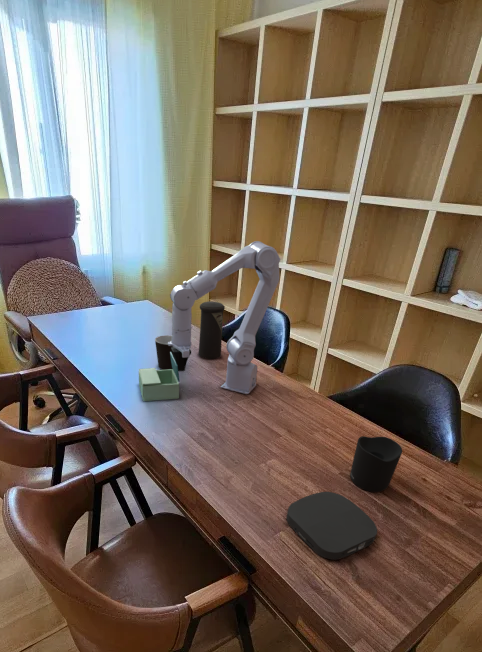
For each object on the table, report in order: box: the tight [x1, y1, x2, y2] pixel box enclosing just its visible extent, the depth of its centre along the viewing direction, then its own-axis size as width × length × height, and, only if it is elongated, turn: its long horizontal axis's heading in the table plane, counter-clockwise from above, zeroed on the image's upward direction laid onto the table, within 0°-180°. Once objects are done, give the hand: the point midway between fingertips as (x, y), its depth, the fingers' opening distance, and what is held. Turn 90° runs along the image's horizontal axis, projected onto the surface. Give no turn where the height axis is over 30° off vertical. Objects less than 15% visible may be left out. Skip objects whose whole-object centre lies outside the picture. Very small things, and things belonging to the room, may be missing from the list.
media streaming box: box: [286, 491, 378, 561], centre depth 85 cm, size 15×15×3 cm
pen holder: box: [349, 435, 403, 493], centre depth 97 cm, size 9×9×10 cm
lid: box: [170, 352, 180, 383], centre depth 131 cm, size 5×11×1 cm
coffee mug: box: [154, 334, 175, 370], centre depth 149 cm, size 12×9×10 cm
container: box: [198, 300, 225, 360], centre depth 156 cm, size 9×9×20 cm
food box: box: [138, 367, 180, 402], centre depth 133 cm, size 11×11×6 cm
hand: (180, 370), depth 132 cm, fingers closed, pressing on lid
